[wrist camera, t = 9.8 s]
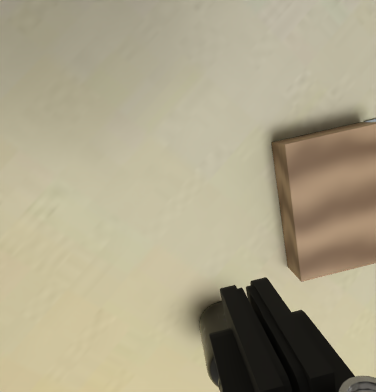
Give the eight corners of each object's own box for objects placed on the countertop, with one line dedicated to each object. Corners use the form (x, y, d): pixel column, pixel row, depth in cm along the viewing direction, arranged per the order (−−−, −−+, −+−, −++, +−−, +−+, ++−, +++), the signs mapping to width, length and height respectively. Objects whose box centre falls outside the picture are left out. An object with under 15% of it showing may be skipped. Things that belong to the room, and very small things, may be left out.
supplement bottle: (241, 295, 41) (273, 362, 30) (246, 334, 43) (278, 412, 31) (194, 305, 41) (209, 376, 29) (201, 344, 42) (217, 426, 31)
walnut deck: (271, 142, 36) (284, 144, 32) (360, 122, 37) (384, 122, 33) (287, 266, 41) (301, 281, 37) (366, 247, 41) (388, 259, 37)
